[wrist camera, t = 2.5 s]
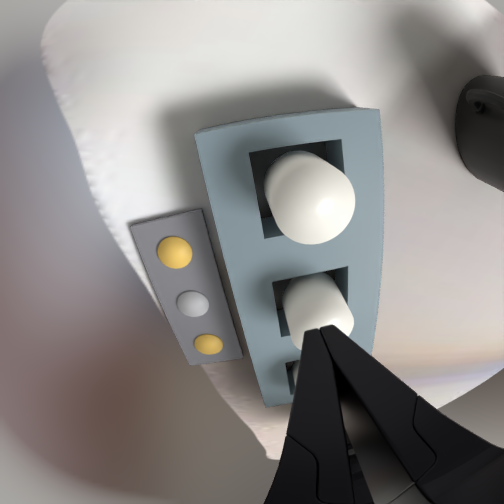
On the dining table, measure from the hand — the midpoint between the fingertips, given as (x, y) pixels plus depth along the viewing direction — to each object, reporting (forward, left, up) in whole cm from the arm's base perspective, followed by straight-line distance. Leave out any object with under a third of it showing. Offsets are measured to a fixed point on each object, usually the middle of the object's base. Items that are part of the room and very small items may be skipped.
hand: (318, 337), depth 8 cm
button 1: (+1, -2, -10) cm, 11 cm away
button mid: (-7, -2, -10) cm, 13 cm away
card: (-7, +7, -12) cm, 16 cm away
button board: (-7, -2, -12) cm, 14 cm away
